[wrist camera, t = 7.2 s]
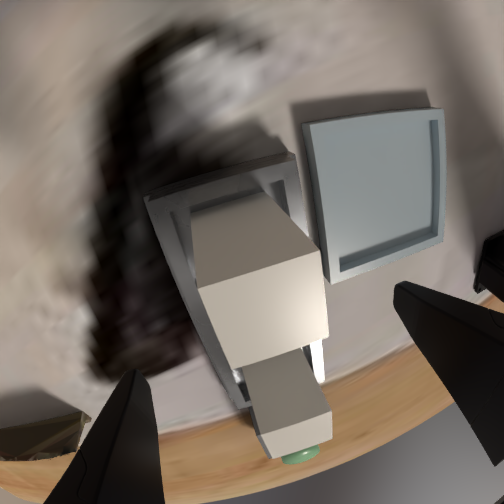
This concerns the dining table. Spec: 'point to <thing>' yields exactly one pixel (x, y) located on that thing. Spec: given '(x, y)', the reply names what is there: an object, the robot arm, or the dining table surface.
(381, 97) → the dining table surface
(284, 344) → the block
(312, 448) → the button
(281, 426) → the seated billet
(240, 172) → the tray
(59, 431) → the incense holder
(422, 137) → the blue-grey square tray
